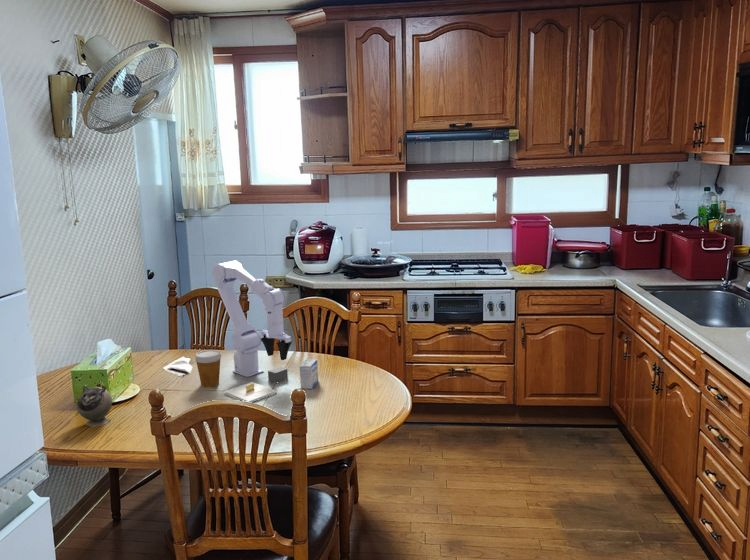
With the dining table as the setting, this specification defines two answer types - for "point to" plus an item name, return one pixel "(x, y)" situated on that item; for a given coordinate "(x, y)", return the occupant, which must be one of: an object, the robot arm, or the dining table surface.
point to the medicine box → (309, 374)
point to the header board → (250, 392)
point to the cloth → (179, 366)
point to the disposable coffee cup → (208, 367)
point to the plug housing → (277, 374)
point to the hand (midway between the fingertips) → (277, 357)
